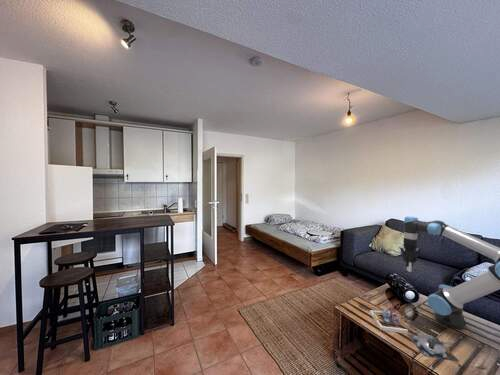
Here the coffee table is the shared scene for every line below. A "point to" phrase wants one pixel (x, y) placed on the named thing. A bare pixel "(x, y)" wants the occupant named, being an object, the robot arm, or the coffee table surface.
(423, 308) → the coffee table surface
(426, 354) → the index plate
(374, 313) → the white angled bracket
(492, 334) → the coffee table surface
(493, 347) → the coffee table surface
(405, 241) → the robot arm
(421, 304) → the coffee table surface
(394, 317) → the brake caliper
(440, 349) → the sprocket
